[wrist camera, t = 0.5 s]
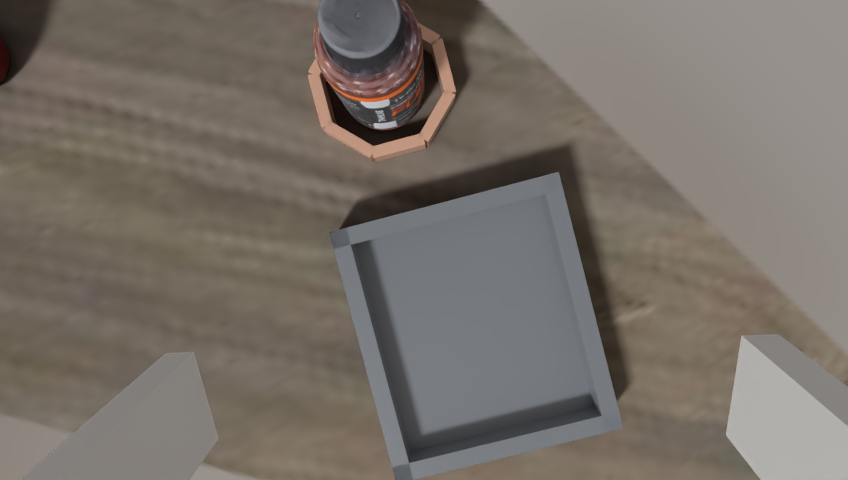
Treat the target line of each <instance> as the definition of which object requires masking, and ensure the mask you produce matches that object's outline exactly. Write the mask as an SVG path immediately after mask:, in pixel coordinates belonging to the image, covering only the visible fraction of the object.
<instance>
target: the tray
mask: <svg viewBox="0 0 848 480" xmlns="http://www.w3.org/2000/svg"><path fill="white" fill-rule="evenodd" d="M329 233H330V237H331V241H332V244H333V248H334V252H335V256H336V259H337V263H338V267H339V271H340V274H341V278H342V282H343V285H344V289H345V293H346V297H347V300H348V304H349V308H350V312H351V315H352V319H353V323H354V326H355V330H356V334H357V338H358V341H359V345H360V349H361V353H362V356H363V360H364V364H365V367H366V371H367V375H368V379H369V382H370V386H371V390H372V394H373V397H374V401H375V405H376V408H377V412H378V416H379V420H380V423H381V427H382V431H383V435H384V438H385V442H386V446H387V449H388V453H389V457H390V461H391V464H392V468H393V472H394V476H395V479H396V480H414V479H418V478H423V477H427V476H431V475H435V474H439V473H443V472H447V471H451V470H455V469H459V468H463V467H468V466H472V465H476V464H480V463H484V462H488V461H492V460H496V459H500V458H504V457H509V456H513V455H517V454H521V453H525V452H529V451H533V450H537V449H541V448H545V447H549V446H554V445H558V444H562V443H566V442H570V441H574V440H578V439H582V438H586V437H590V436H595V435H599V434H603V433H607V432H611V431H615V430H619V429H623V425H622V421H621V417H620V413H619V409H618V405H617V401H616V397H615V393H614V389H613V385H612V381H611V377H610V373H609V369H608V365H607V361H606V357H605V353H604V349H603V345H602V341H601V337H600V334H599V330H598V326H597V322H596V318H595V314H594V310H593V306H592V302H591V298H590V294H589V290H588V286H587V282H586V278H585V274H584V270H583V266H582V262H581V258H580V254H579V250H578V246H577V242H576V238H575V234H574V230H573V226H572V222H571V219H570V215H569V211H568V207H567V203H566V199H565V195H564V191H563V187H562V183H561V179H560V175H559V172H556V173H552V174H548V175H545V176H541V177H537V178H533V179H529V180H526V181H522V182H518V183H514V184H510V185H507V186H503V187H499V188H495V189H491V190H488V191H484V192H480V193H476V194H472V195H469V196H465V197H461V198H457V199H453V200H450V201H446V202H442V203H438V204H435V205H431V206H427V207H423V208H419V209H416V210H412V211H408V212H404V213H400V214H397V215H393V216H389V217H385V218H381V219H378V220H374V221H370V222H366V223H362V224H359V225H355V226H351V227H347V228H343V229H340V230H336V231H332V232H329Z"/></svg>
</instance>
